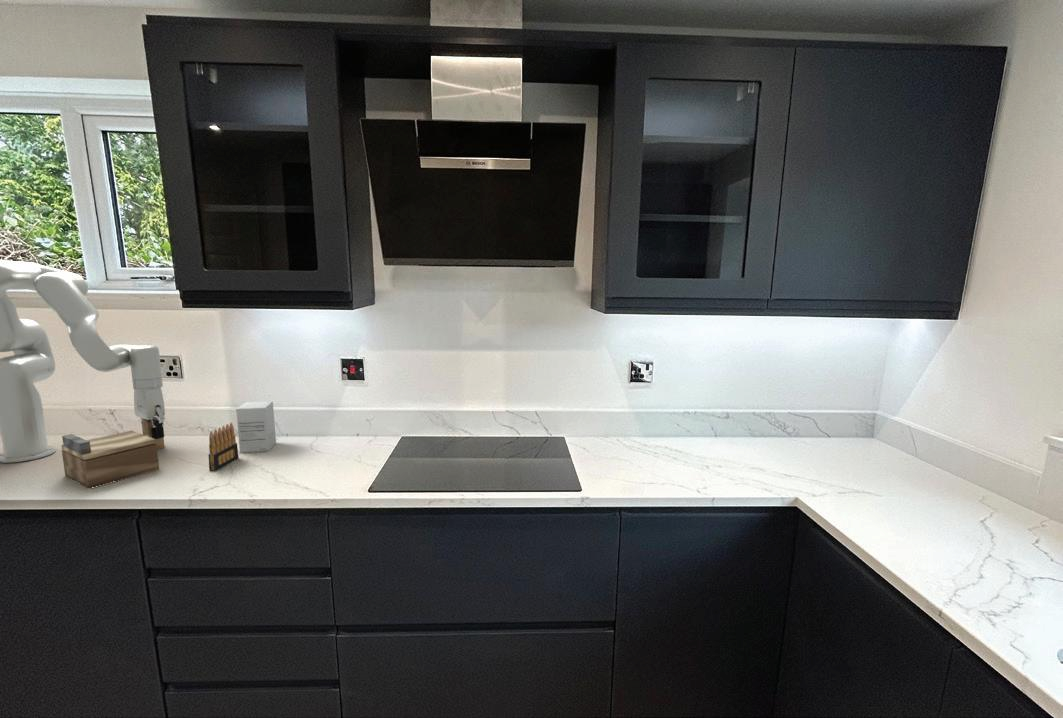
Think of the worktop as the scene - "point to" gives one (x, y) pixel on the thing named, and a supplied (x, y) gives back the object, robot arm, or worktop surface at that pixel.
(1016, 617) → the worktop surface
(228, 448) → the ammunition clip
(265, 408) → the supplement box
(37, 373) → the robot arm
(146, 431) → the brown wooden block
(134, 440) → the lid
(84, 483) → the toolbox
